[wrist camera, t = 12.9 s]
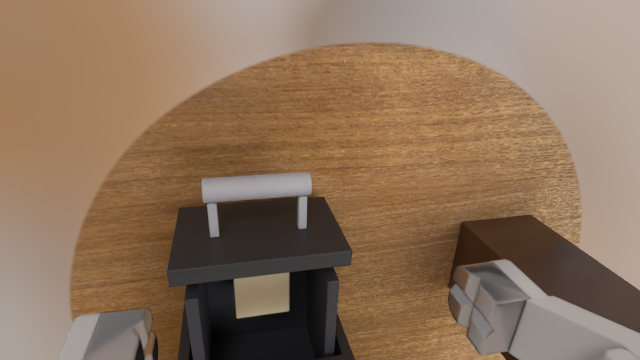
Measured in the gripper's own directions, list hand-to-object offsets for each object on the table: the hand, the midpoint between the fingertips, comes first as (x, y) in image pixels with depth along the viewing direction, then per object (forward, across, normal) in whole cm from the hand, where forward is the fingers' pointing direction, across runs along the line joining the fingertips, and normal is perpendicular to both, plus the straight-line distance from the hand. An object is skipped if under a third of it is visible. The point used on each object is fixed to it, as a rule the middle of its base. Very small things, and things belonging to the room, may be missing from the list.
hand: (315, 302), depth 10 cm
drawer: (+20, 0, +12) cm, 23 cm away
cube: (+18, 0, +13) cm, 22 cm away
